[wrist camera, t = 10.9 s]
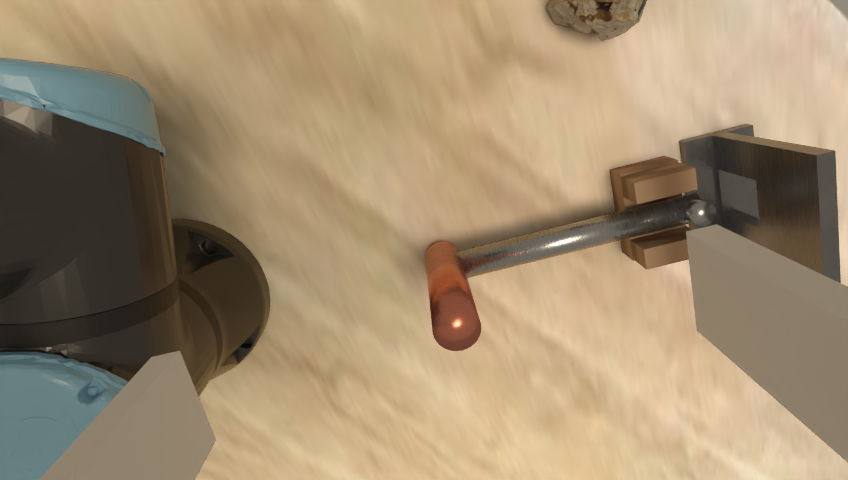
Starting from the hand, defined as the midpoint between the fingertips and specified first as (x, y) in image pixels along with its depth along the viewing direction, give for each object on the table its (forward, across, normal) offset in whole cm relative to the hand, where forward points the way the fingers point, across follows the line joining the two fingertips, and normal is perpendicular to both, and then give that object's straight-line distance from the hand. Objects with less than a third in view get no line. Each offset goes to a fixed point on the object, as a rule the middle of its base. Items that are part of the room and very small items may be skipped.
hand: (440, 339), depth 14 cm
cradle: (+37, +19, -10) cm, 43 cm away
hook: (+36, +10, -10) cm, 38 cm away
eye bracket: (+37, +26, -10) cm, 46 cm away
